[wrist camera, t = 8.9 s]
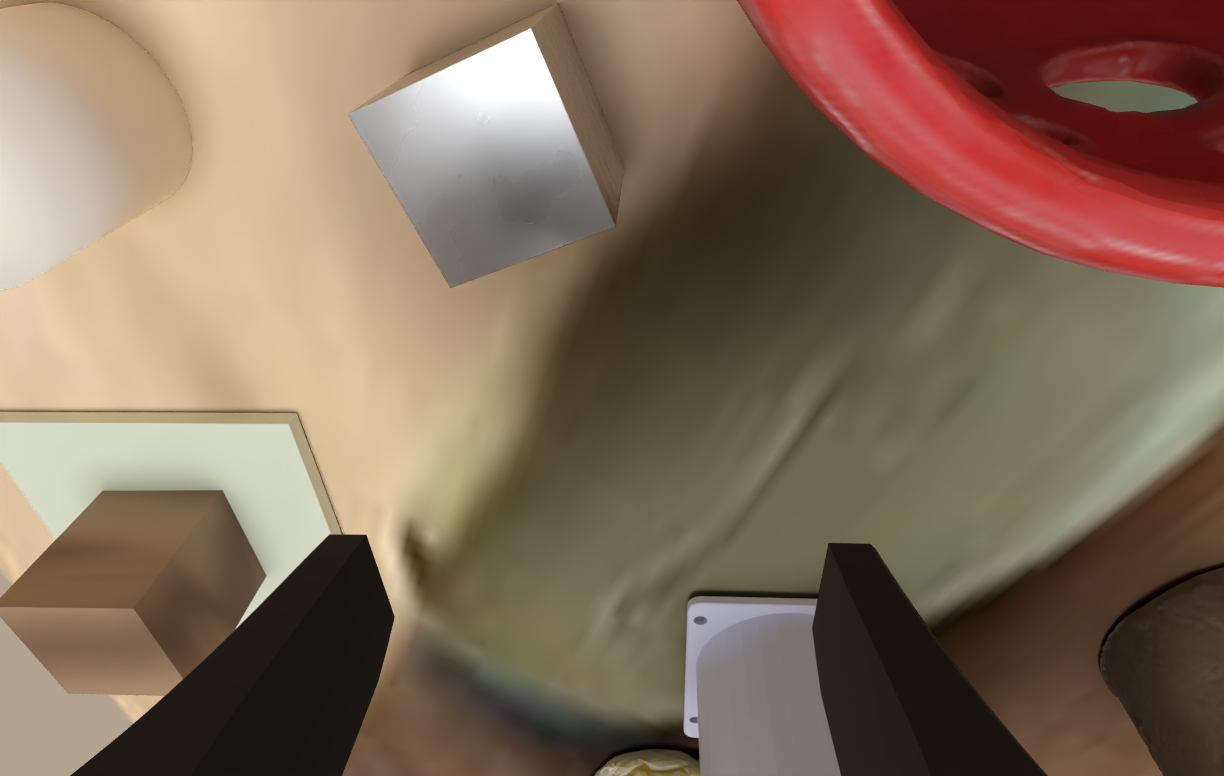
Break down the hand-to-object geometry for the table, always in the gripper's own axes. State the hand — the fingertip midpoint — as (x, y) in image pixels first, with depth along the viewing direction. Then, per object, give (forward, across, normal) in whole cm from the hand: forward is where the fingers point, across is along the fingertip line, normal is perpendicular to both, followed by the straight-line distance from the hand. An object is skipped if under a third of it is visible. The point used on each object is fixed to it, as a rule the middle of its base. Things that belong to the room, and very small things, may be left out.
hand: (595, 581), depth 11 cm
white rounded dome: (+10, +14, -5) cm, 18 cm away
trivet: (+10, +16, +10) cm, 22 cm away
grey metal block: (+10, +2, -4) cm, 12 cm away
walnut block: (+10, +16, +10) cm, 22 cm away
